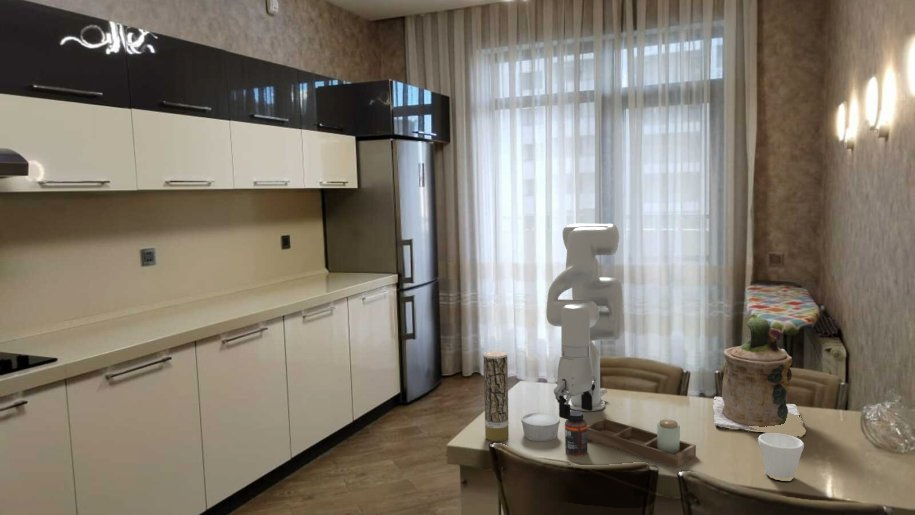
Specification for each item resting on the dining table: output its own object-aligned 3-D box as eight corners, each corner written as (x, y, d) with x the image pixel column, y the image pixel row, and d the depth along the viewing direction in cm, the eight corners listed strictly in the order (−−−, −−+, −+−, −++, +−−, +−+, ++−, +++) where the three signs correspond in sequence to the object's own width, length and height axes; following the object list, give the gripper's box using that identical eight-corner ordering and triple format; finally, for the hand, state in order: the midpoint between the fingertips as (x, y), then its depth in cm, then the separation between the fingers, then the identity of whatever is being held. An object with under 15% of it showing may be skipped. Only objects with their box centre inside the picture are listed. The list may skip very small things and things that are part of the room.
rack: (603, 430, 190) (603, 418, 189) (695, 458, 169) (695, 445, 168) (582, 439, 183) (582, 427, 182) (676, 470, 162) (676, 456, 161)
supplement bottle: (588, 450, 175) (588, 410, 174) (585, 459, 170) (585, 417, 169) (567, 447, 177) (566, 408, 176) (563, 456, 172) (563, 415, 170)
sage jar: (664, 450, 173) (664, 417, 172) (683, 456, 169) (683, 422, 168) (653, 456, 169) (653, 422, 168) (672, 462, 165) (673, 428, 164)
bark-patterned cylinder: (507, 443, 182) (505, 357, 179) (483, 441, 183) (481, 356, 180) (510, 434, 188) (508, 350, 186) (487, 432, 190) (485, 350, 187)
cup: (766, 464, 164) (767, 429, 163) (809, 476, 157) (810, 439, 156) (750, 477, 157) (751, 440, 156) (793, 490, 150) (795, 452, 149)
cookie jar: (712, 429, 188) (714, 322, 185) (712, 402, 211) (714, 307, 207) (807, 439, 179) (811, 327, 176) (797, 410, 202) (800, 310, 198)
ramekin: (529, 426, 194) (529, 409, 193) (565, 432, 189) (565, 415, 188) (515, 439, 184) (515, 422, 184) (552, 446, 179) (552, 427, 178)
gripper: (583, 343, 179) (583, 403, 180) (543, 354, 167) (544, 418, 169) (606, 347, 173) (606, 409, 175) (566, 359, 162) (567, 425, 163)
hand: (575, 413), depth 172 cm, fingers open, 9 cm apart
